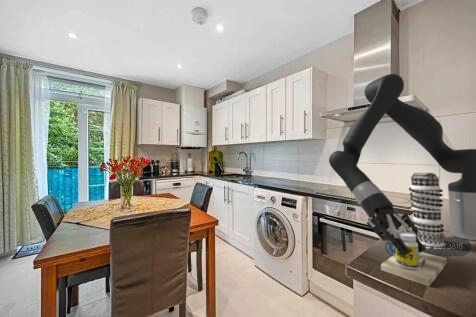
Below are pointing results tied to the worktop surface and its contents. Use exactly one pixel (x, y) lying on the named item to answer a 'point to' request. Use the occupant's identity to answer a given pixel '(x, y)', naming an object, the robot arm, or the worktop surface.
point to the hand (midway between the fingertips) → (414, 252)
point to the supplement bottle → (413, 257)
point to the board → (425, 272)
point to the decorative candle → (427, 208)
